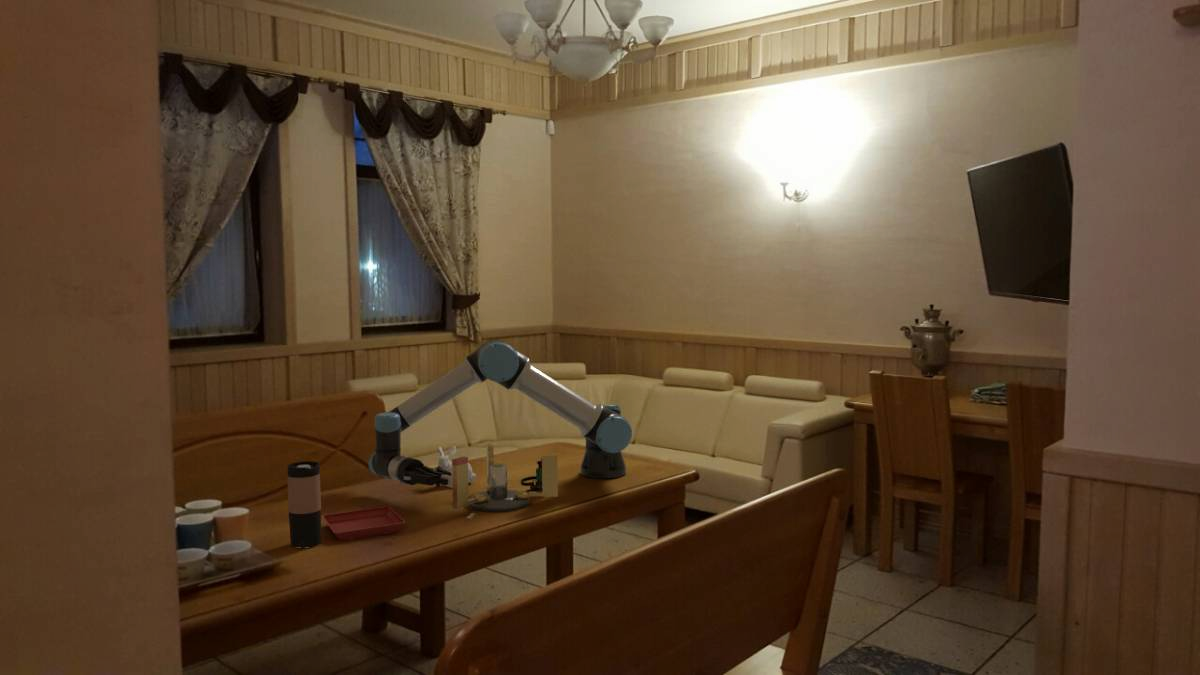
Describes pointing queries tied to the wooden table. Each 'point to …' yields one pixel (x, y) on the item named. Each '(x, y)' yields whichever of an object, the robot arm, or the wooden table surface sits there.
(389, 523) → the plant saucer
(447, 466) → the rabbit
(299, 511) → the travel mug
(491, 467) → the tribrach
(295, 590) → the wooden table surface
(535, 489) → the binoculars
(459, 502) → the beige u-shaped piece
